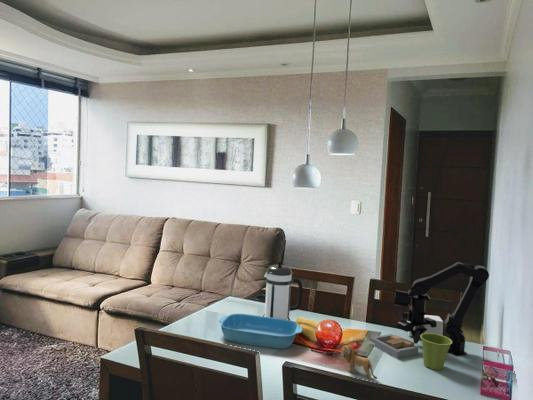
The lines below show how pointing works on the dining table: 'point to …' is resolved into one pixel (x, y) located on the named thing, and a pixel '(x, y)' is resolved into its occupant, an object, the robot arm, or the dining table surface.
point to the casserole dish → (259, 330)
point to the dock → (390, 350)
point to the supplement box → (434, 330)
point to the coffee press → (280, 291)
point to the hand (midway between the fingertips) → (415, 343)
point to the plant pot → (435, 350)
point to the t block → (399, 342)
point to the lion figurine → (356, 360)
